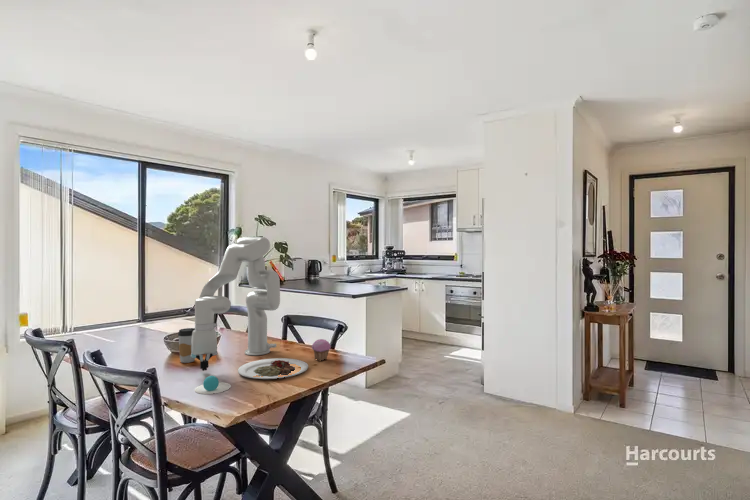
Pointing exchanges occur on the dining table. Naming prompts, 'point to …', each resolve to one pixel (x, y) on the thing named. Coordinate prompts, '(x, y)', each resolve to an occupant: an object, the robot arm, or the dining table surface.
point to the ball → (210, 383)
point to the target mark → (220, 388)
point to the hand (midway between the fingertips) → (204, 369)
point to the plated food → (271, 368)
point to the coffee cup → (185, 345)
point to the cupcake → (321, 349)
